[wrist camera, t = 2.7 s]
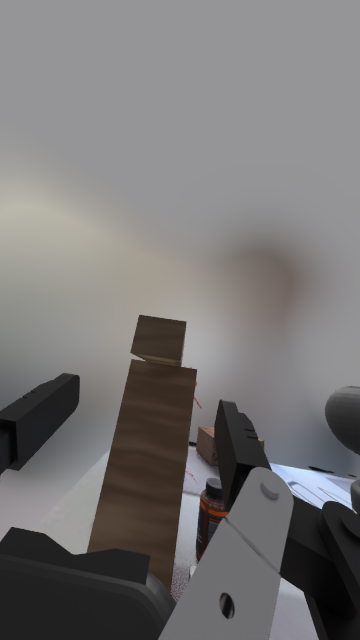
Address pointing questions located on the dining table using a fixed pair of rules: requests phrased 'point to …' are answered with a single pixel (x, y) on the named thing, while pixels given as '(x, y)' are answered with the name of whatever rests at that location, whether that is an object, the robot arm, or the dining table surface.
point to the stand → (147, 467)
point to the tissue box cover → (209, 445)
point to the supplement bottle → (209, 514)
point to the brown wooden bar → (159, 340)
